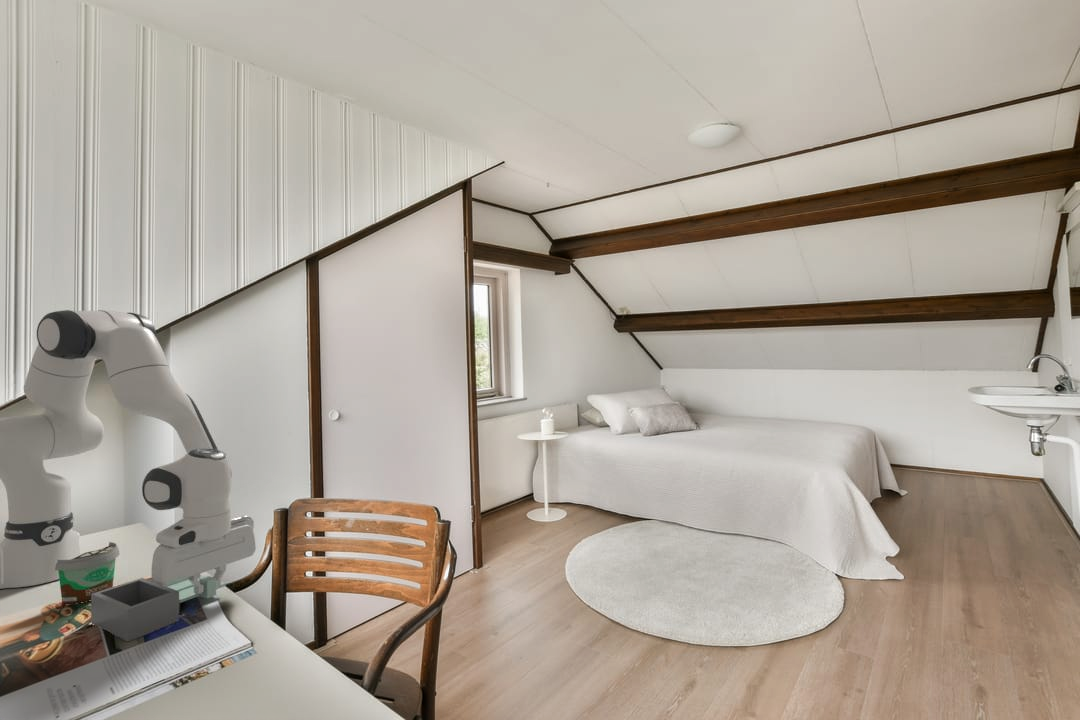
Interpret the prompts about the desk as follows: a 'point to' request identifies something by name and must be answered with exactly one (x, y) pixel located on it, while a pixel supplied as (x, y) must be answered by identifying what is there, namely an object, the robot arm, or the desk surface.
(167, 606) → the tub
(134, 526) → the desk surface
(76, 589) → the food container
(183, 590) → the lid
